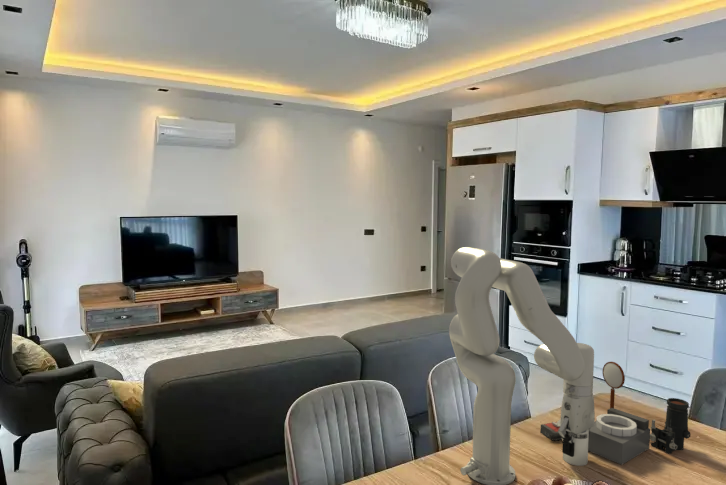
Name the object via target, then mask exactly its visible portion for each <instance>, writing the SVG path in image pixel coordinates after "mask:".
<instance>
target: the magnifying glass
mask: <svg viewBox="0 0 726 485" xmlns="http://www.w3.org/2000/svg"><path fill="white" fill-rule="evenodd" d="M602 378H603V379H604V382H605V383H606V385H607V386H608V387H610V394H609V396H610V398H609V409H610V408H614V409H615V395H616V394H615V393H616V389H617V390H618V389H621V388H622V387H623V385H625V381H626V380H625V379H626V376H625V371H624V370H623V368H622V367H621V366H620V365H619V364H618V363H617V362H615V361H607V362H606V363H604V365H603V367H602Z"/></svg>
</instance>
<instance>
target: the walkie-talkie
mask: <svg viewBox="0 0 726 485" xmlns="http://www.w3.org/2000/svg"><path fill="white" fill-rule="evenodd" d="M560 420H561V418H560V419H559V420H558V421H552V422H549V423H542V424H540V434H542V435H543V436H545V437H546V438H548V439H549V440H551V441H554V440H555V441H560V440H562V437H561V436H560V434H559V432H558V430H559V428H560V426H561V422H560Z"/></svg>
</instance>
